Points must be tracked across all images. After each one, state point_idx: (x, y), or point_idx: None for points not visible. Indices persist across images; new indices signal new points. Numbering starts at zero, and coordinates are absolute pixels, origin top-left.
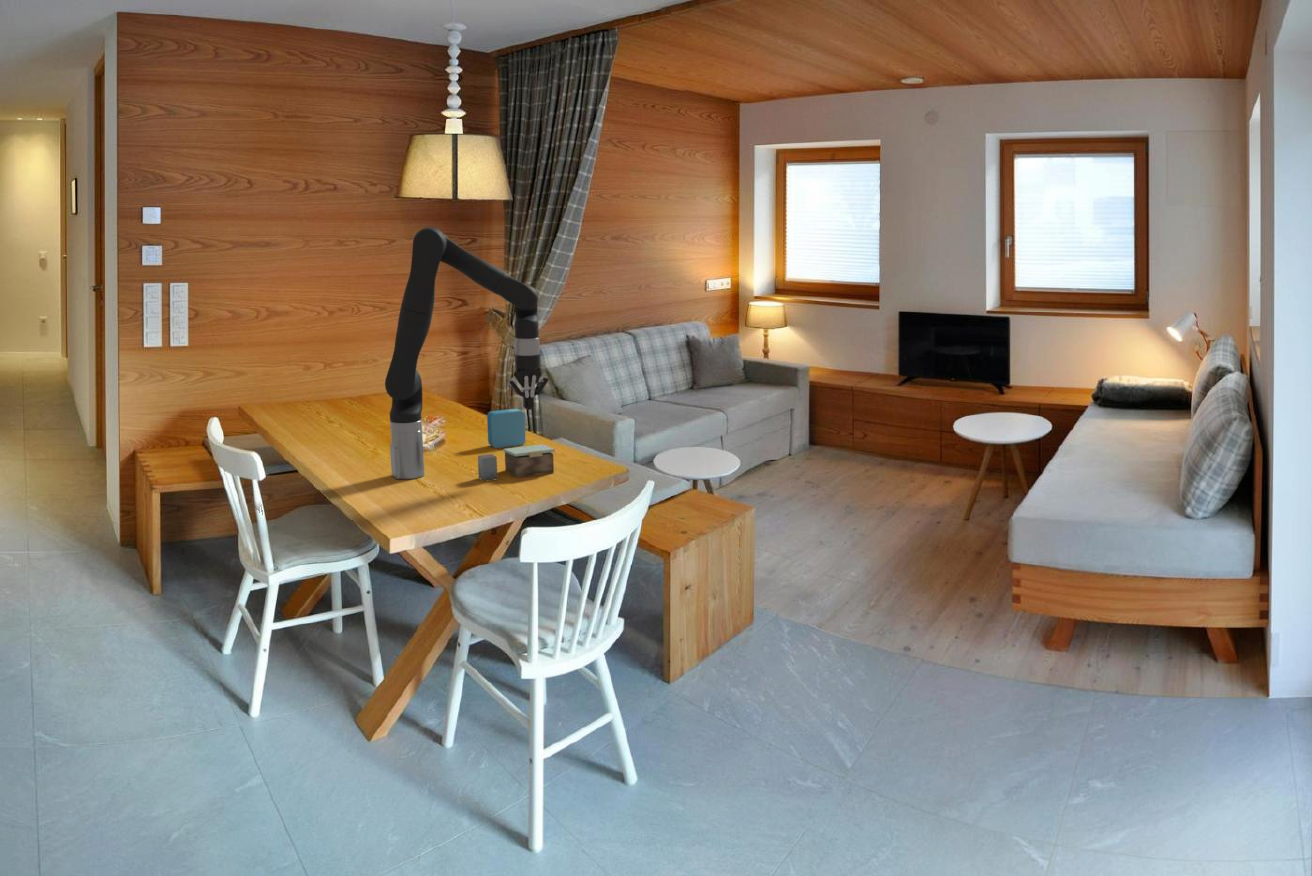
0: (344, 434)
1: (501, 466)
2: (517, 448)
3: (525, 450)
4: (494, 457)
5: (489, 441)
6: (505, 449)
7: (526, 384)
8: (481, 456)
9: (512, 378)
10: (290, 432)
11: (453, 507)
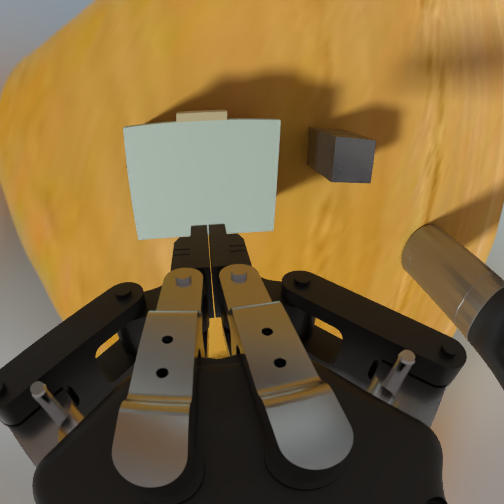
0: None
1: (250, 245)
2: (232, 213)
3: (223, 162)
4: (342, 137)
5: None
6: (271, 218)
7: (277, 352)
8: (367, 167)
9: (431, 415)
10: None
11: (441, 8)
